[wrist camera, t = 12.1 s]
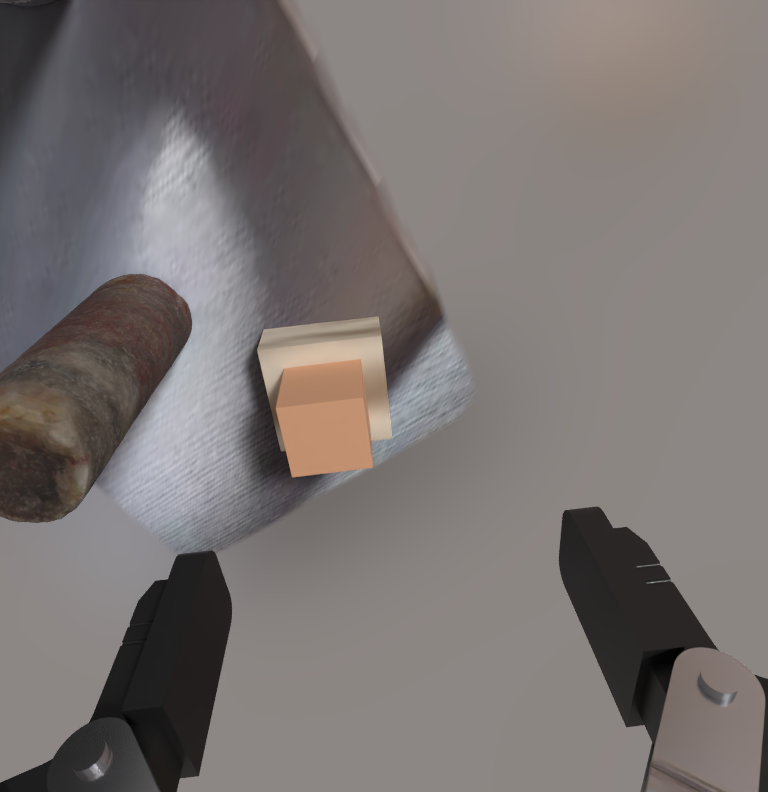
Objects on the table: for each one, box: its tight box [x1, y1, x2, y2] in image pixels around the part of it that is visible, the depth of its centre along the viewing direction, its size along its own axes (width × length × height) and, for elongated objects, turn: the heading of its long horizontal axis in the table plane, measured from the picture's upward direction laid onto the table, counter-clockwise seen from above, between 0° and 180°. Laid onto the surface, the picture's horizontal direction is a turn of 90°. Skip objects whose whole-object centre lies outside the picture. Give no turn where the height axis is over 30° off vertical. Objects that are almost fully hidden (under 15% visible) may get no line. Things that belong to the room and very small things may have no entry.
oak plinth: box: [257, 317, 392, 451], centre depth 46 cm, size 10×10×4 cm
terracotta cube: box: [276, 359, 373, 477], centre depth 41 cm, size 6×6×6 cm
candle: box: [0, 274, 192, 523], centre depth 35 cm, size 8×7×20 cm
